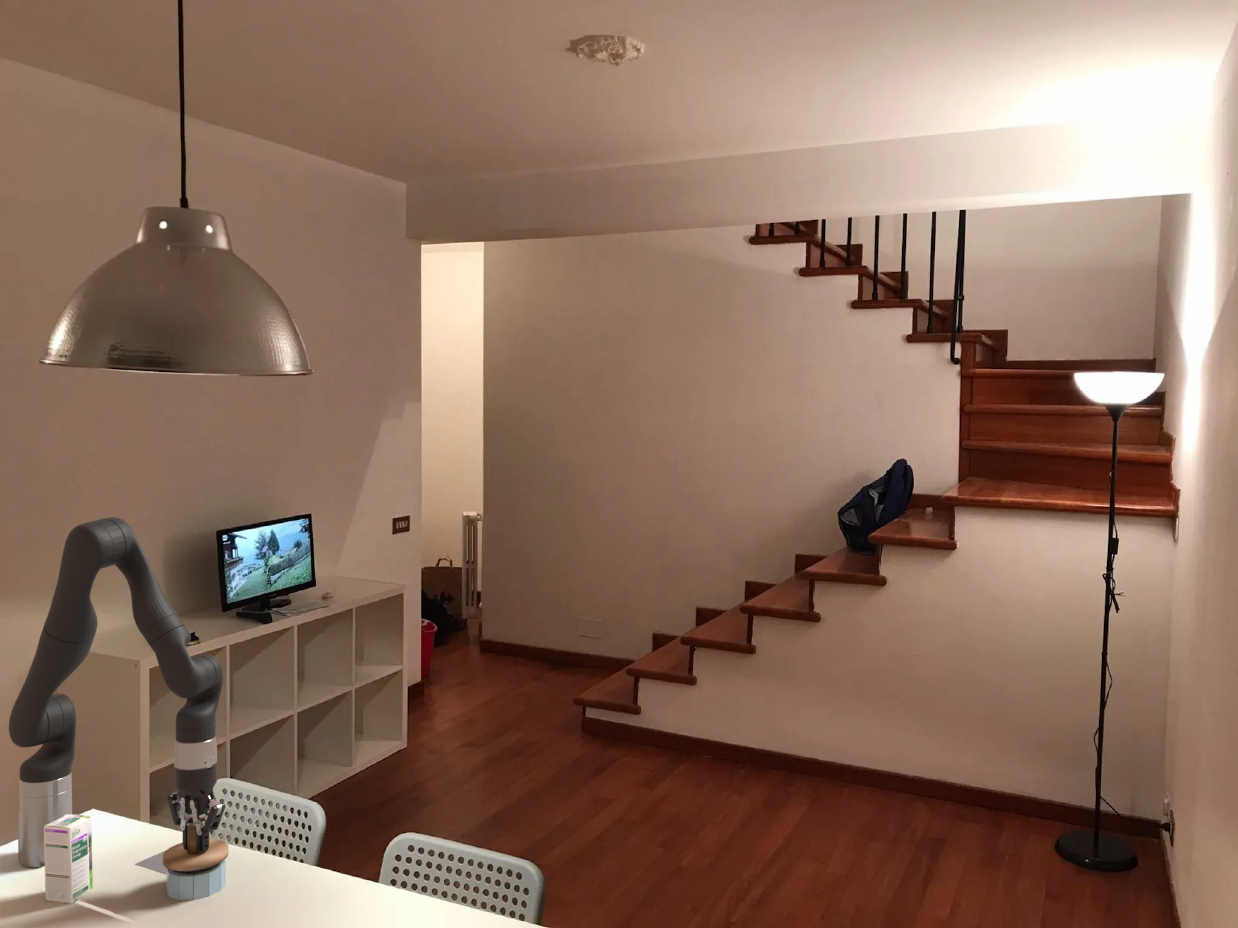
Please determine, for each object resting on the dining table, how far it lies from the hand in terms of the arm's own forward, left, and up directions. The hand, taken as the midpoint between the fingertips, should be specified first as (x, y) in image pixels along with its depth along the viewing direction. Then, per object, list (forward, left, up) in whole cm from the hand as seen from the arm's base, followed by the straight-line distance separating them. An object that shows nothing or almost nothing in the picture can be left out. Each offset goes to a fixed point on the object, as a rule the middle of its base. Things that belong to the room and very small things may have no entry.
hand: (195, 849), depth 192 cm
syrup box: (-19, -13, -8) cm, 24 cm away
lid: (0, 0, -3) cm, 3 cm away
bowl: (0, 0, -8) cm, 8 cm away
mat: (-13, +7, -8) cm, 17 cm away
